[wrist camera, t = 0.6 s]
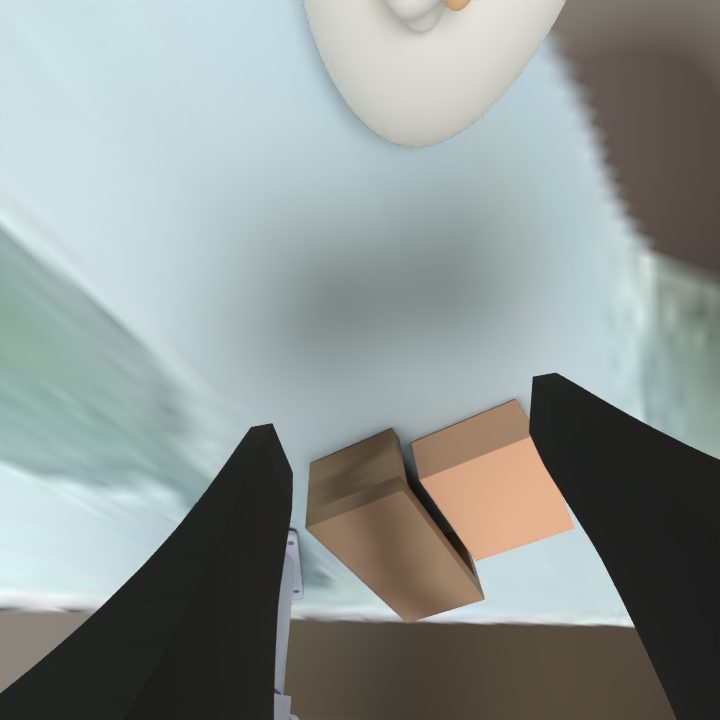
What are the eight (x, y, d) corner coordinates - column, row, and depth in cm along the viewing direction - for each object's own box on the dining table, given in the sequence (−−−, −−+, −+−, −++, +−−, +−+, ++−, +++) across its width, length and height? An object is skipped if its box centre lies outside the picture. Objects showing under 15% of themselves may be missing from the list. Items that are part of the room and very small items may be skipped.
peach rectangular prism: (515, 399, 23) (537, 433, 21) (553, 491, 28) (574, 528, 26) (410, 442, 25) (419, 480, 22) (463, 523, 30) (475, 561, 27)
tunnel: (391, 428, 24) (402, 490, 20) (465, 536, 31) (485, 599, 27) (310, 463, 25) (305, 528, 21) (398, 560, 32) (407, 623, 28)
